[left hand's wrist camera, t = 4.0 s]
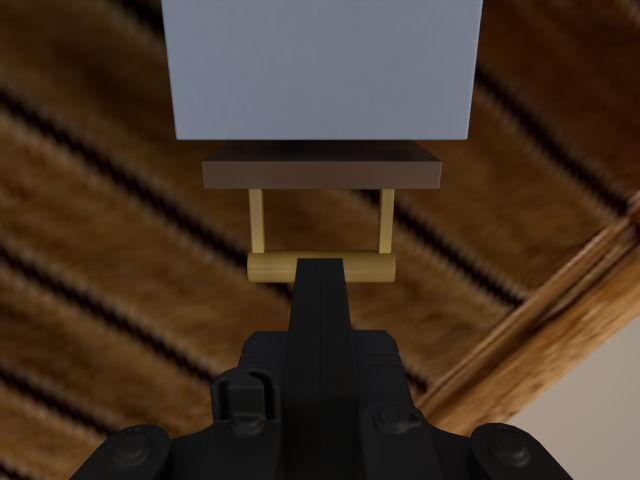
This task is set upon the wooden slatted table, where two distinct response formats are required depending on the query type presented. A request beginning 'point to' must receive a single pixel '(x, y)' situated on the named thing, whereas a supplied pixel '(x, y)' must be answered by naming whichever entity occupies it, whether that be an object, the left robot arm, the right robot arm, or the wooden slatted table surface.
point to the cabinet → (321, 68)
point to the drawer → (321, 173)
